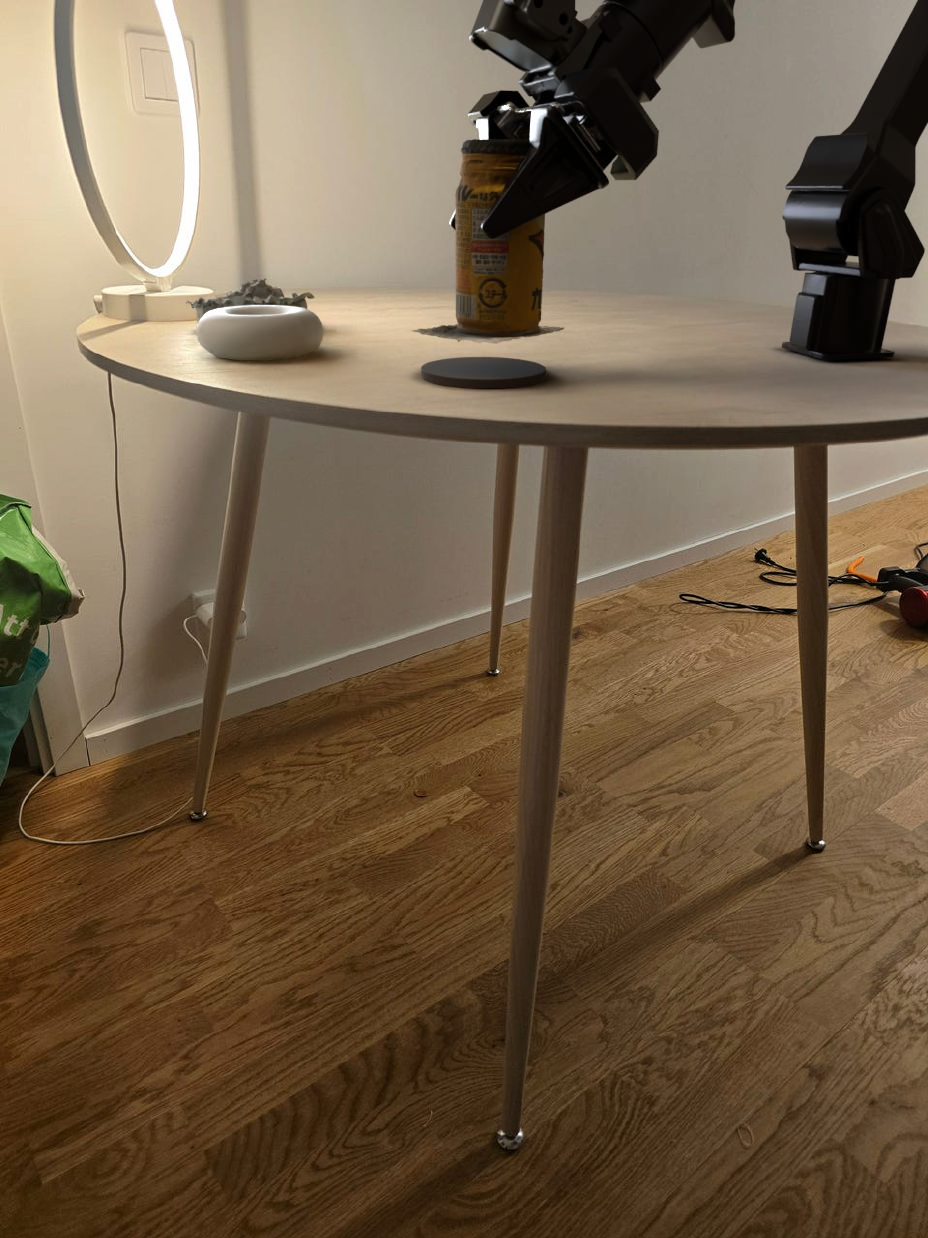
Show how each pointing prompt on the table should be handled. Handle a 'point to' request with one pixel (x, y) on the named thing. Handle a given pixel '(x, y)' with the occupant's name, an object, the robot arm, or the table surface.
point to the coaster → (483, 372)
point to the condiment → (494, 254)
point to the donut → (259, 332)
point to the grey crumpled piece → (251, 298)
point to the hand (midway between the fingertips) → (469, 231)
